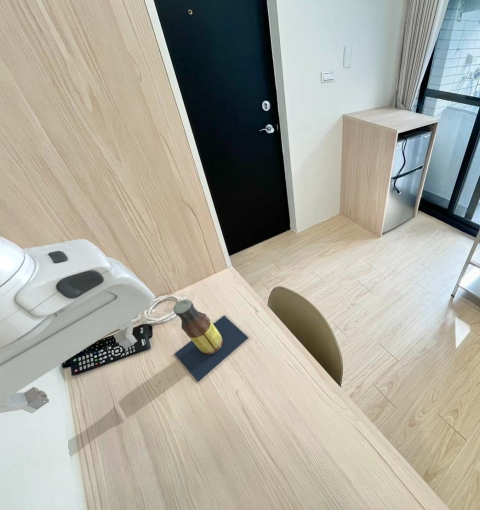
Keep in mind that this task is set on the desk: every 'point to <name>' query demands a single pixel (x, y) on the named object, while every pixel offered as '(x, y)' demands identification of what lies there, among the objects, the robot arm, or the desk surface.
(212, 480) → the desk surface
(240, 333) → the cloth
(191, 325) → the sauce bottle
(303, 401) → the desk surface
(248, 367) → the desk surface
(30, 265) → the robot arm
